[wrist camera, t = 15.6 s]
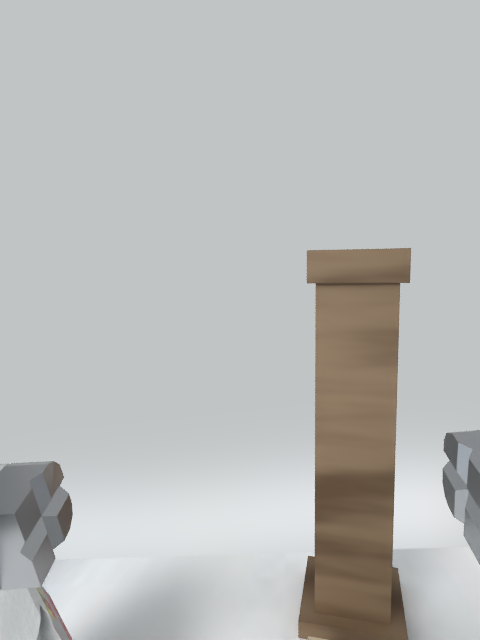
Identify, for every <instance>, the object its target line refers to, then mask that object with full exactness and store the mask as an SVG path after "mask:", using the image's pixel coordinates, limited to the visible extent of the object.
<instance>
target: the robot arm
mask: <svg viewBox="0 0 480 640" xmlns="http://www.w3.org/2000/svg"><path fill="white" fill-rule="evenodd" d="M444 452H445V453H446V455H447V457H448V458H449V460H450V461H449V462H448V463H447V464H446V465H445V467H444V468H443V487H444V492H445V497H446V500H447V503H448V506H449V508H450V510H451V512H452V514H453V516H454V517H455V518H456V519H458V520H459V521H461V522H463V523H464V537H465V539H466V540H467V542H468V544H469V546H470V548H471V550H472V551H473V553H474V555H475V557H476V559H477V561H478V563H479V564H480V430H476V431H464V432H452V433H446V436H445V439H444ZM63 478H64V476H63V473H62V470H61V468H60V465H59V464H58V463H56V462H54V461H50V462H30V463H11V464H0V590H12V589H24V588H36V587H41V586H42V584H43V582H44V580H45V578H46V576H47V574H48V572H49V570H50V568H51V566H52V564H53V562H54V560H55V555H54V552H53V549H54V548H55V547H57V546H58V545H59V544H60V543H62V542H63V541H64V540H65V538H66V536H67V534H68V532H69V529H70V525H71V520H72V503H71V499H70V496H69V493H67V492H66V491H65V490H63V489H62V488H61V487H60V484H61V482H62V480H63Z"/></svg>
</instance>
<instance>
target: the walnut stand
mask: <svg viewBox="0 0 480 640" xmlns="http://www.w3.org/2000/svg"><path fill="white" fill-rule="evenodd" d="M410 261H411V248H400V249H399V248H398V249H356V250H355V249H353V250H310V251H307V283H316V364H315V375H316V377H315V378H316V379H315V382H316V383H315V386H316V387H315V557H313V556H308V561H307V567H306V574H305V581H304V588H303V595H302V601H301V608H300V615H299V637H300V638H306V639H308V636H310V637H315V638H321V639H327V640H408V636H407V629H406V622H405V615H404V608H403V601H402V594H401V588H400V581H399V574H398V568H394V567H392V552H393V516H394V481H395V480H394V478H395V477H394V476H395V445H396V443H395V442H396V408H397V373H398V337H399V301H400V283H410Z"/></svg>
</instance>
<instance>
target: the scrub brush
mask: <svg viewBox="0 0 480 640" xmlns="http://www.w3.org/2000/svg"><path fill="white" fill-rule="evenodd" d="M308 640H327V639H321V638H315V637H310V636H308Z"/></svg>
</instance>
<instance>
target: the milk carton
mask: <svg viewBox="0 0 480 640" xmlns="http://www.w3.org/2000/svg"><path fill="white" fill-rule="evenodd" d="M0 640H72V638H71V636H70V634H69V632H68V630H67V629H66V627H65V625H64V623H63V621H62V619H61V617H60V615H59V613H58V611H57V609H56V607H55V605H54V603H53V601H52V599H51V597H50V595H49V594H48V593H47V592H46V590H45V589H44V588H43V587H42V586H41V587H36V588H24V589H12V590H0Z"/></svg>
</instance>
